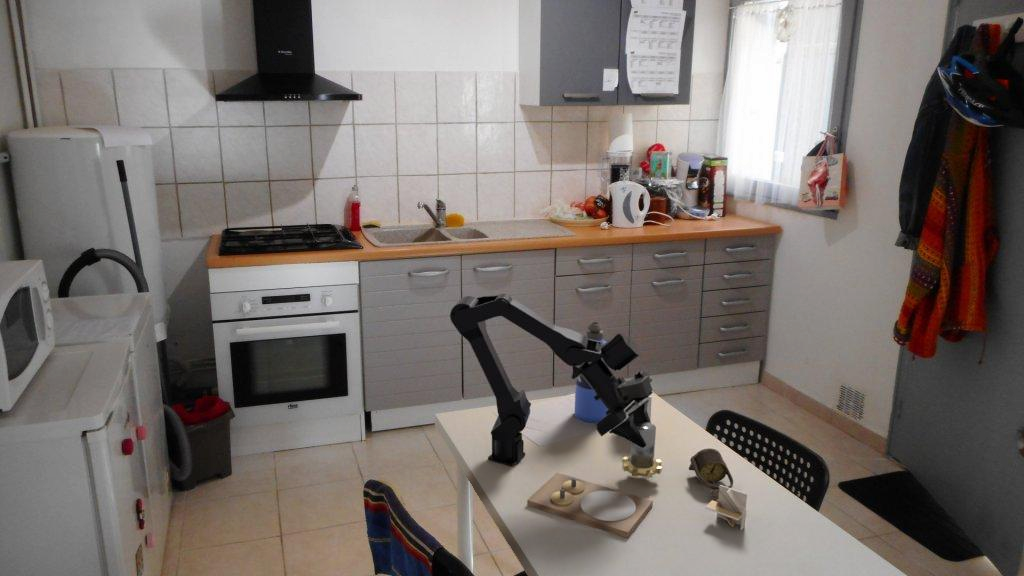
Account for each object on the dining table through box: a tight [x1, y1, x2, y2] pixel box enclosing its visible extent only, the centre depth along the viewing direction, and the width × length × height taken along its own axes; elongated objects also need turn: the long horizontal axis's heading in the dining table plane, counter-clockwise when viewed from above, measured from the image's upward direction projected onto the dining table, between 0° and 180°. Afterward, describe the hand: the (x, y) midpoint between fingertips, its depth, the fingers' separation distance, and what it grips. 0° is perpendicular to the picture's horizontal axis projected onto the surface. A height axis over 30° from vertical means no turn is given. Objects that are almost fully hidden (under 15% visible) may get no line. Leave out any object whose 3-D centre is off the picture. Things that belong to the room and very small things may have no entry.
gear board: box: [526, 472, 654, 539], centre depth 153 cm, size 22×13×3 cm, turn 59°
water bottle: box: [574, 321, 611, 424], centre depth 192 cm, size 9×9×25 cm
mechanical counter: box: [688, 447, 734, 501], centre depth 160 cm, size 7×13×10 cm
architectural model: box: [705, 484, 748, 531], centre depth 147 cm, size 3×7×7 cm, turn 52°
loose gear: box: [621, 422, 663, 479], centre depth 162 cm, size 9×9×10 cm
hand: (649, 441), depth 161 cm, fingers closed on loose gear, 5 cm apart
